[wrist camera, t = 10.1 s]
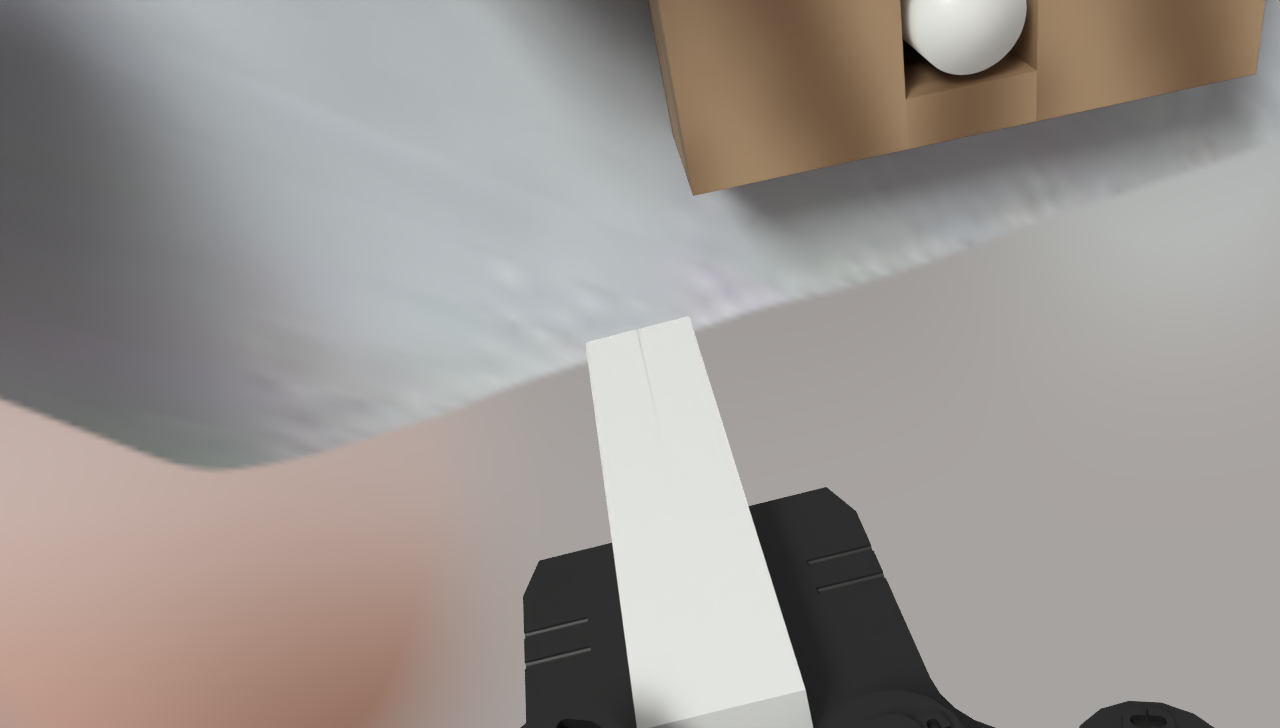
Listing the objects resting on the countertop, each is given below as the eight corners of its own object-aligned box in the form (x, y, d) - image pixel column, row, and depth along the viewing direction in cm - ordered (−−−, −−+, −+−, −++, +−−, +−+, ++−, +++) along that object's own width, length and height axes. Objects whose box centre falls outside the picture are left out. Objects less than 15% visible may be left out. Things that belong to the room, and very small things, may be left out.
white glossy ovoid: (874, 42, 43) (919, 85, 38) (867, -57, 41) (914, -26, 36) (968, 22, 43) (1026, 62, 38) (966, -79, 41) (1027, -50, 36)
